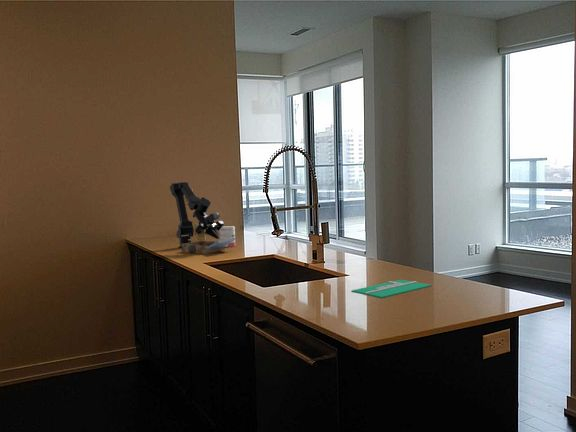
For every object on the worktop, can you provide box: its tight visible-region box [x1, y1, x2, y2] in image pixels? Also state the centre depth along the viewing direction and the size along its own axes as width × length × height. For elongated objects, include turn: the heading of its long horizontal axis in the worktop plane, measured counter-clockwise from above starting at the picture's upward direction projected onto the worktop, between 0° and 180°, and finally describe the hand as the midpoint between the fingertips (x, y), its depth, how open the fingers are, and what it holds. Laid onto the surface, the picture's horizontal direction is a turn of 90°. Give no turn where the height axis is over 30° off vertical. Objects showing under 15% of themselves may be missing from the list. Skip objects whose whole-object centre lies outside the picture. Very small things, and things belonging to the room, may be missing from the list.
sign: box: [351, 279, 432, 299], centre depth 217 cm, size 27×1×15 cm
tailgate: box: [206, 237, 236, 250], centre depth 325 cm, size 1×14×10 cm
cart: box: [180, 240, 225, 255], centre depth 333 cm, size 18×19×4 cm
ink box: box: [218, 225, 236, 248], centre depth 349 cm, size 9×5×12 cm, turn 84°
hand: (218, 238), depth 326 cm, fingers closed
